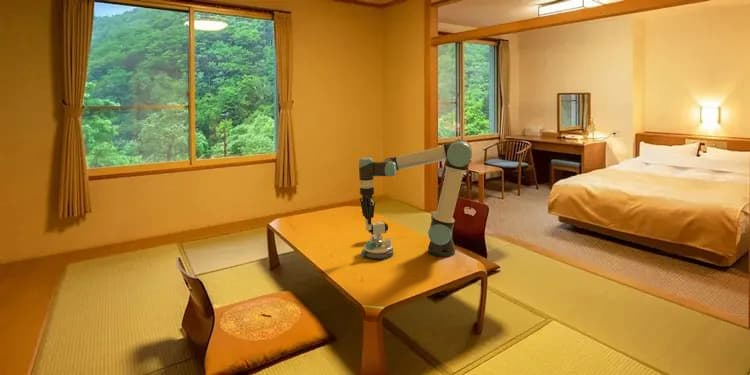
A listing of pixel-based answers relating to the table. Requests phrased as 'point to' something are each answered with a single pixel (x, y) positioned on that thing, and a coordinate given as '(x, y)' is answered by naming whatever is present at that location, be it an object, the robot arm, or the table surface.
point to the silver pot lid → (376, 255)
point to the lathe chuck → (378, 245)
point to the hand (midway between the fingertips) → (368, 229)
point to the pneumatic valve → (378, 229)
